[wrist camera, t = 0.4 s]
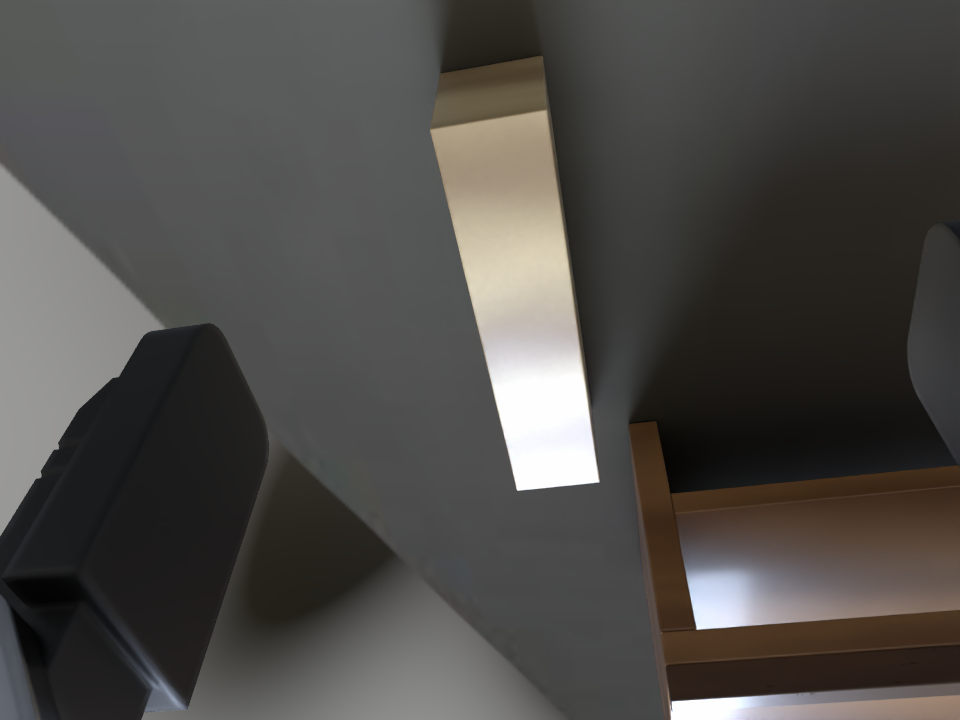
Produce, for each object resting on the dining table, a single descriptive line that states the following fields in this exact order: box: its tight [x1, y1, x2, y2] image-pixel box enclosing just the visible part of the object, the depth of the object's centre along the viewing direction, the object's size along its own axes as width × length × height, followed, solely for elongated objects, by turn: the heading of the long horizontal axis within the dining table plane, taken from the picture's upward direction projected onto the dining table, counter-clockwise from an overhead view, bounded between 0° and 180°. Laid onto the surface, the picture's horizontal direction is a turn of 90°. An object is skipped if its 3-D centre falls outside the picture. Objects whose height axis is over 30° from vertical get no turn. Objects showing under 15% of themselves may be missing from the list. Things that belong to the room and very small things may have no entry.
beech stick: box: [430, 56, 600, 491], centre depth 28 cm, size 15×3×4 cm, turn 11°
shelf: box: [628, 421, 960, 720], centre depth 32 cm, size 11×20×12 cm, turn 101°
